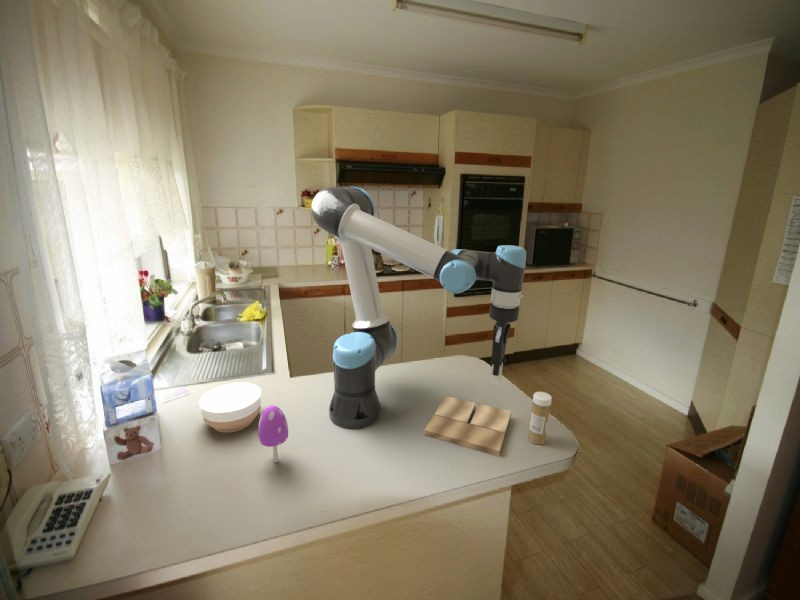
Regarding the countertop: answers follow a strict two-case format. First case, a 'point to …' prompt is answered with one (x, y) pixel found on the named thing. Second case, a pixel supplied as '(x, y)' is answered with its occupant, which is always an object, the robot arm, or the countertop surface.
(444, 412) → the plank
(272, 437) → the toy
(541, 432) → the sprinkles bottle
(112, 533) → the countertop surface
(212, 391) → the bowl
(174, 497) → the countertop surface
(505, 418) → the plank
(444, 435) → the laid board
